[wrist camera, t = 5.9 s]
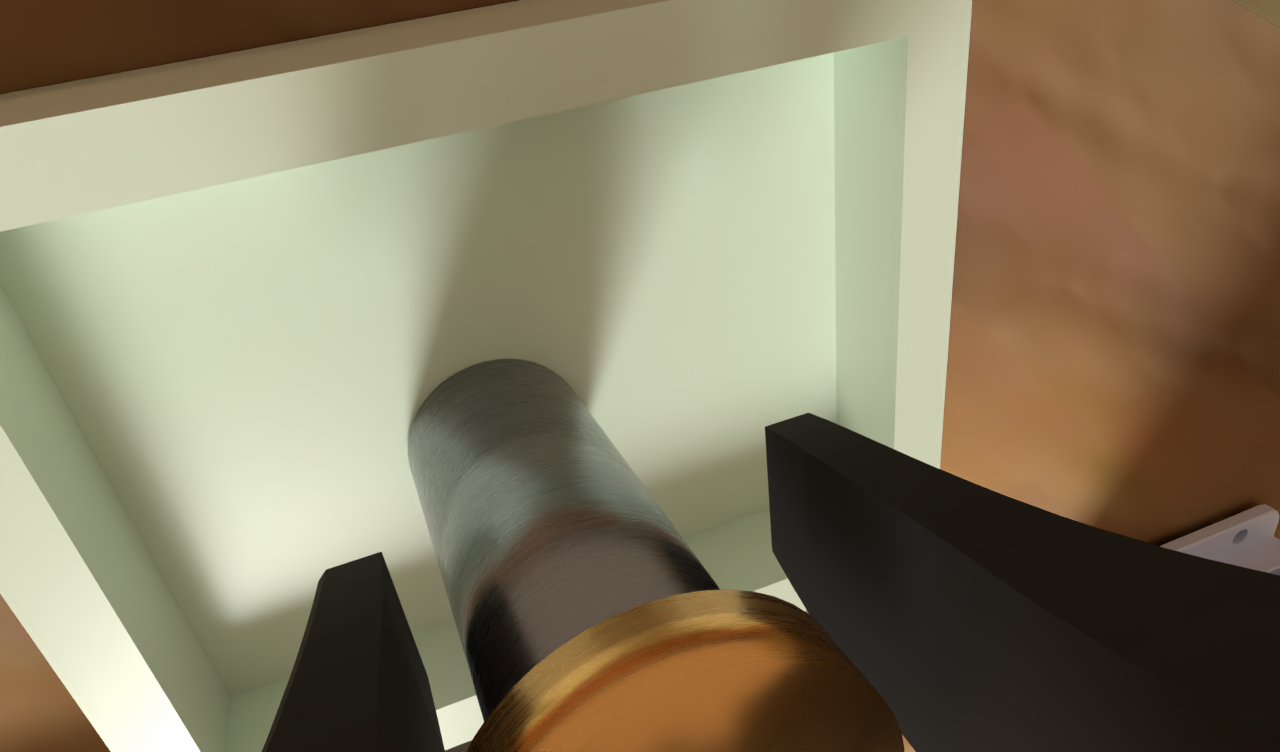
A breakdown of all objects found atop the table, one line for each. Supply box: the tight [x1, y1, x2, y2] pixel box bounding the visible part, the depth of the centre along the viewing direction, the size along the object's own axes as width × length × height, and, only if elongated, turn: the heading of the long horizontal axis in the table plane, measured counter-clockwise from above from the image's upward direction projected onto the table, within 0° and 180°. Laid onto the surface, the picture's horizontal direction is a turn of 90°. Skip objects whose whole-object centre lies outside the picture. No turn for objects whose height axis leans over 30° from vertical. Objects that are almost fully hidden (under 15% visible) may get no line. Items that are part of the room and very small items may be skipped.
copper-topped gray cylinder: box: [408, 359, 904, 752], centre depth 11 cm, size 4×4×8 cm
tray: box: [0, 0, 972, 752], centre depth 14 cm, size 14×11×2 cm
